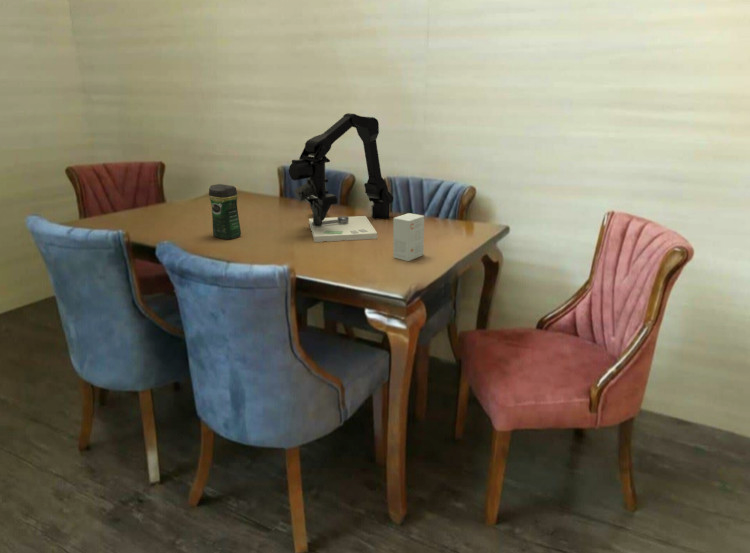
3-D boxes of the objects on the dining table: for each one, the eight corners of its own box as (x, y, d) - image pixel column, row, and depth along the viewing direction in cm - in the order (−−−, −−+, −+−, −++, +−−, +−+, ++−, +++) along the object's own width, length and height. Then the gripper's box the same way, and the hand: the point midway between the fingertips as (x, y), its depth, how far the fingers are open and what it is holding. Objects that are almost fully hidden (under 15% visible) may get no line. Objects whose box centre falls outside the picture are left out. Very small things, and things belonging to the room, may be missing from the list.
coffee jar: (245, 235, 205) (240, 184, 198) (228, 241, 199) (223, 188, 192) (226, 231, 210) (221, 181, 204) (209, 236, 204) (203, 185, 198)
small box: (408, 251, 187) (408, 212, 182) (423, 255, 183) (424, 215, 178) (392, 257, 181) (392, 217, 176) (408, 261, 177) (409, 220, 172)
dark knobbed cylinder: (346, 219, 215) (345, 196, 212) (350, 222, 211) (349, 198, 208) (310, 224, 209) (309, 200, 206) (314, 226, 206) (313, 202, 203)
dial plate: (365, 220, 224) (365, 215, 223) (377, 238, 201) (377, 232, 200) (309, 223, 220) (308, 218, 219) (314, 242, 197) (314, 236, 196)
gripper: (284, 174, 204) (287, 216, 210) (309, 183, 190) (311, 228, 196) (312, 170, 210) (314, 211, 216) (338, 179, 196) (339, 223, 201)
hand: (318, 218), depth 207 cm, fingers open, 4 cm apart
